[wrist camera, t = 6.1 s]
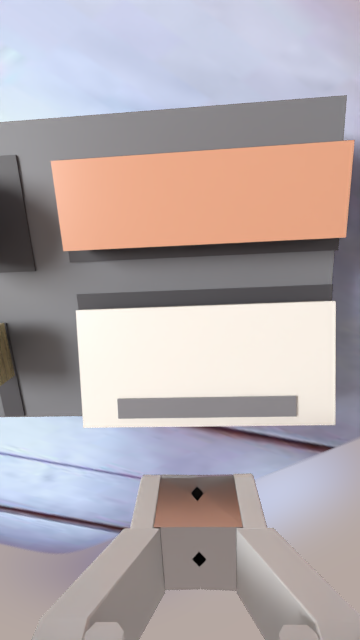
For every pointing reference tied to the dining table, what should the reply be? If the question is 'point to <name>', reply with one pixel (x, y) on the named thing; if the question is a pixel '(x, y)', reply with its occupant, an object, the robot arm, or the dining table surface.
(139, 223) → the terracotta button
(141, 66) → the dining table surface
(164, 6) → the dining table surface
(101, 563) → the robot arm
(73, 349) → the panel
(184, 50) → the dining table surface
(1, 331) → the slider knob
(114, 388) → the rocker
